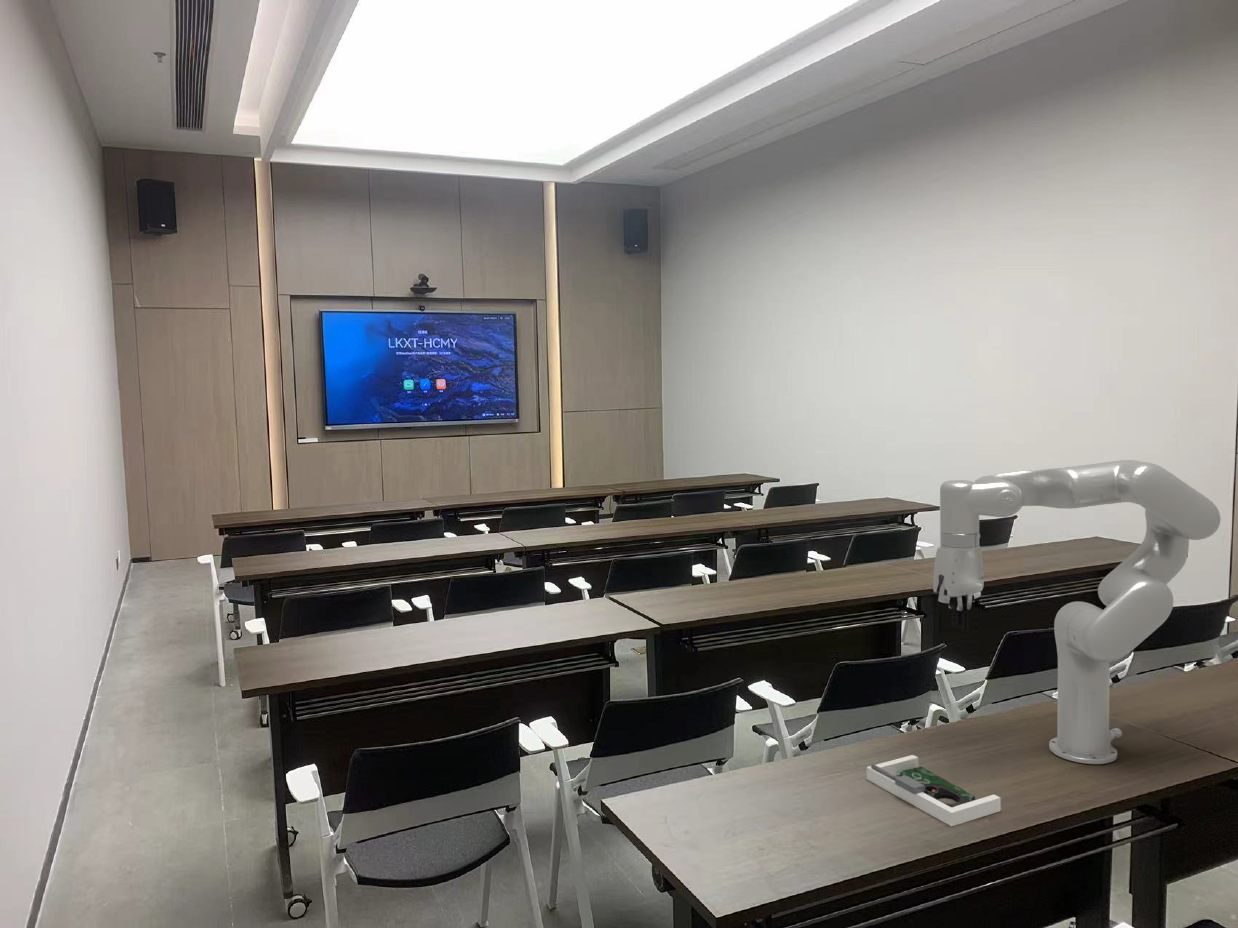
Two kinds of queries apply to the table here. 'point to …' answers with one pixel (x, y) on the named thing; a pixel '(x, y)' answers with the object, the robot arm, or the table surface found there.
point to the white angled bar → (914, 794)
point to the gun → (938, 786)
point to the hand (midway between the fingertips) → (959, 627)
